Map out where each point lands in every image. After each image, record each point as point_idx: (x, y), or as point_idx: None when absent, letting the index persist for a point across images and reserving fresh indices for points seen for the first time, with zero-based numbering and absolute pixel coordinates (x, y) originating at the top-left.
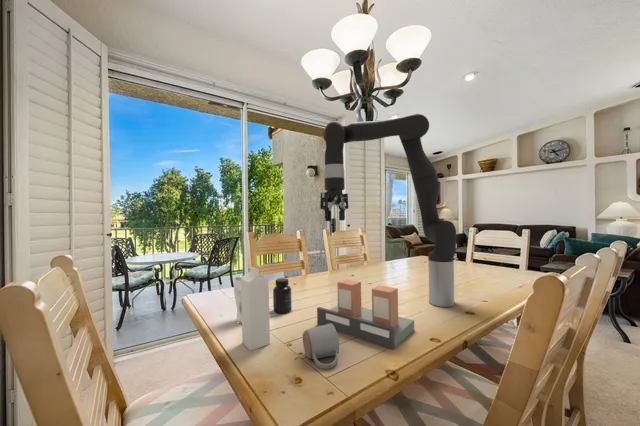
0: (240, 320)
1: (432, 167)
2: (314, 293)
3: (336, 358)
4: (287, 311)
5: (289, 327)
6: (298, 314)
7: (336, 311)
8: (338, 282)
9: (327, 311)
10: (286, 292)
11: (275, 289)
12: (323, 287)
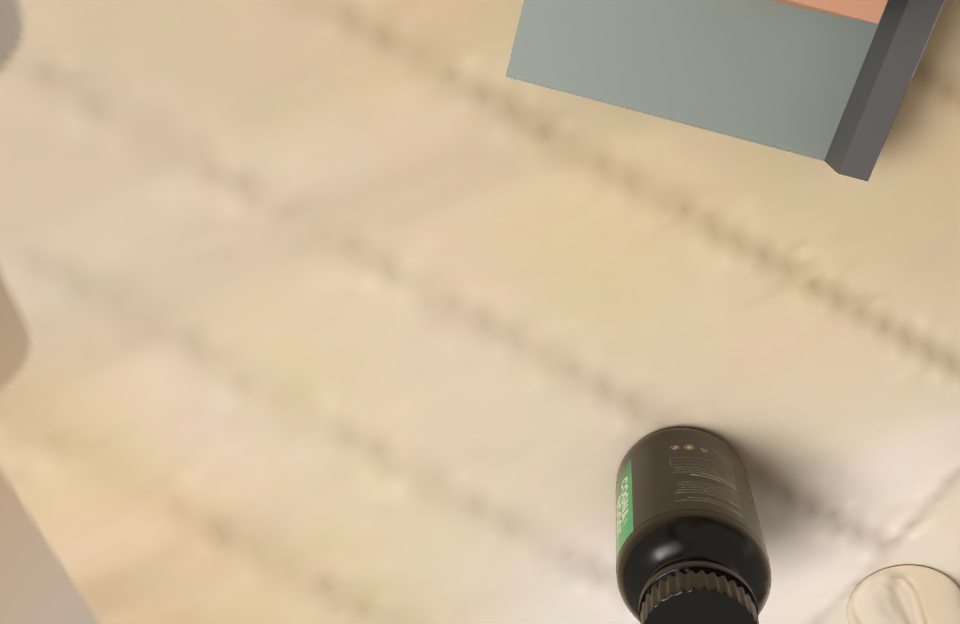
0: None
1: None
2: (247, 432)
3: None
4: (713, 437)
5: (939, 309)
6: (701, 355)
7: (722, 54)
8: (881, 8)
9: (913, 68)
10: (735, 520)
11: (759, 612)
12: (80, 426)
